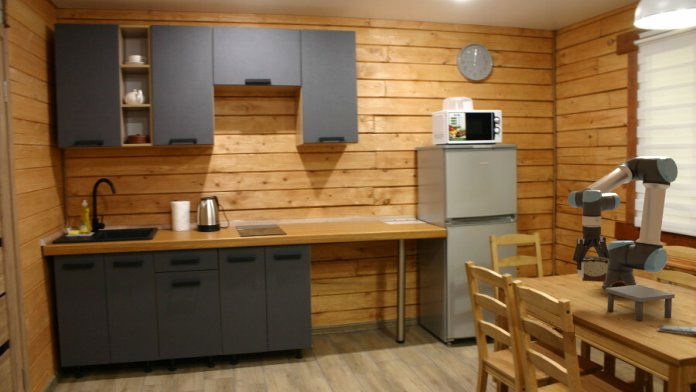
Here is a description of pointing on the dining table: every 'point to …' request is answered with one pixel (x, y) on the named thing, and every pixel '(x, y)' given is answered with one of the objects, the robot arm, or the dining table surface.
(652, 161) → the robot arm
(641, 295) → the small gray table
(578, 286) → the dining table surface
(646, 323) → the dining table surface
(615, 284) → the pottery mug
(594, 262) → the food container
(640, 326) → the dining table surface
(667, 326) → the dining table surface
